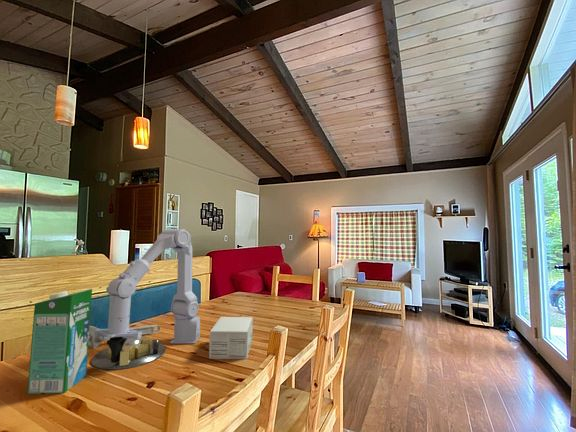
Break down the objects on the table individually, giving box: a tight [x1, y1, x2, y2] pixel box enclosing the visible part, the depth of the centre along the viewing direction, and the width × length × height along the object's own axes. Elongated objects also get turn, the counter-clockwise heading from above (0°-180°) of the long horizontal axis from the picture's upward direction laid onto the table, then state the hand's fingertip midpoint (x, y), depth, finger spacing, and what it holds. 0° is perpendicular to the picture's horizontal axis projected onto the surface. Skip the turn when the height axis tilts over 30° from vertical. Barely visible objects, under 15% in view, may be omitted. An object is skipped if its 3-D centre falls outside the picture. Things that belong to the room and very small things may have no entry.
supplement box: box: [208, 316, 254, 360], centre depth 102 cm, size 17×13×9 cm
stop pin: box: [152, 338, 160, 354], centre depth 96 cm, size 2×2×5 cm
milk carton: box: [26, 288, 93, 395], centre depth 77 cm, size 9×9×25 cm
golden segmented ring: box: [107, 335, 153, 366], centre depth 94 cm, size 13×17×4 cm
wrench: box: [88, 324, 161, 350], centre depth 108 cm, size 8×2×30 cm
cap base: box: [90, 338, 166, 371], centre depth 96 cm, size 22×22×5 cm
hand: (116, 361), depth 87 cm, fingers closed, pressing on golden segmented ring
